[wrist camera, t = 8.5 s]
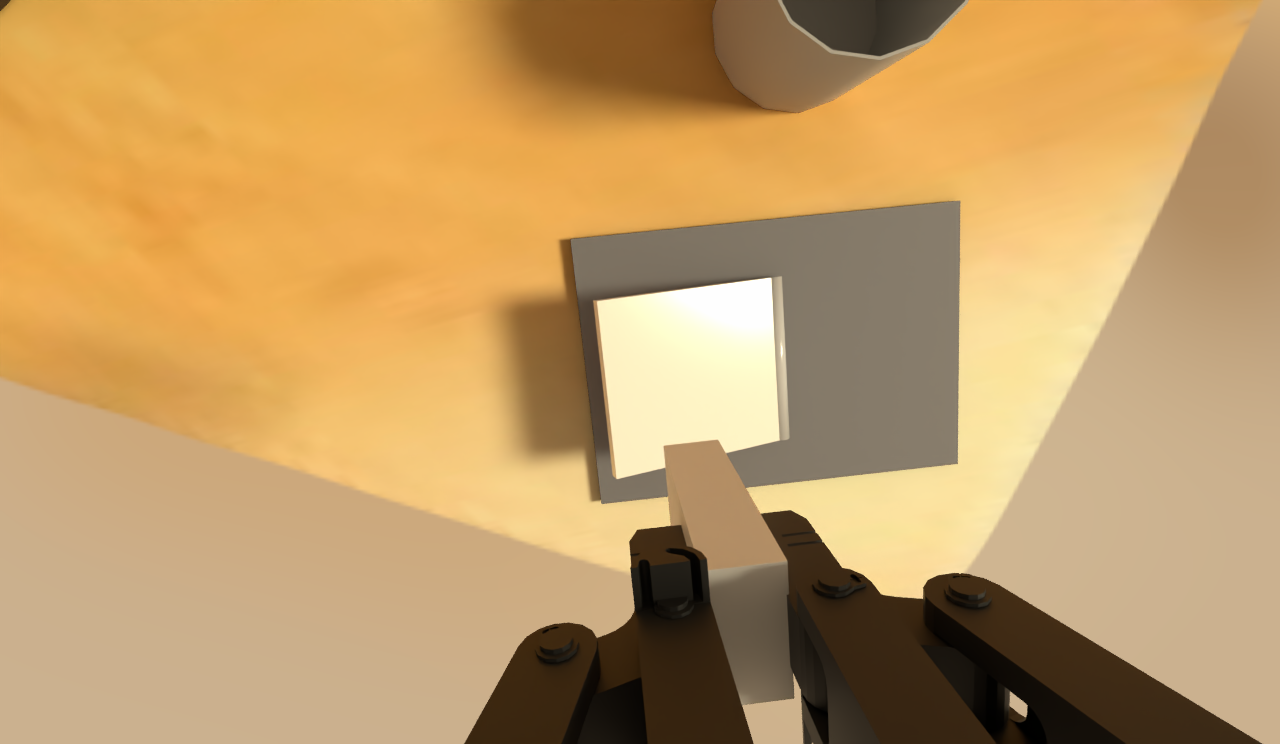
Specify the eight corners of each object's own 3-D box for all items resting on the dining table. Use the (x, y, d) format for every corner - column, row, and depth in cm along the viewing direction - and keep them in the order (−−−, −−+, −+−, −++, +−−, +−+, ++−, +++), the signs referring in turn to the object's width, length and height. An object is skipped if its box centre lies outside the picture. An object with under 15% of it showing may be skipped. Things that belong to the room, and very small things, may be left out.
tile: (598, 301, 30) (591, 300, 31) (617, 480, 32) (611, 474, 33) (785, 276, 33) (775, 275, 34) (793, 438, 35) (783, 433, 36)
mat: (571, 239, 34) (570, 239, 33) (955, 201, 34) (960, 200, 34) (601, 500, 37) (601, 504, 36) (953, 460, 38) (957, 463, 37)
